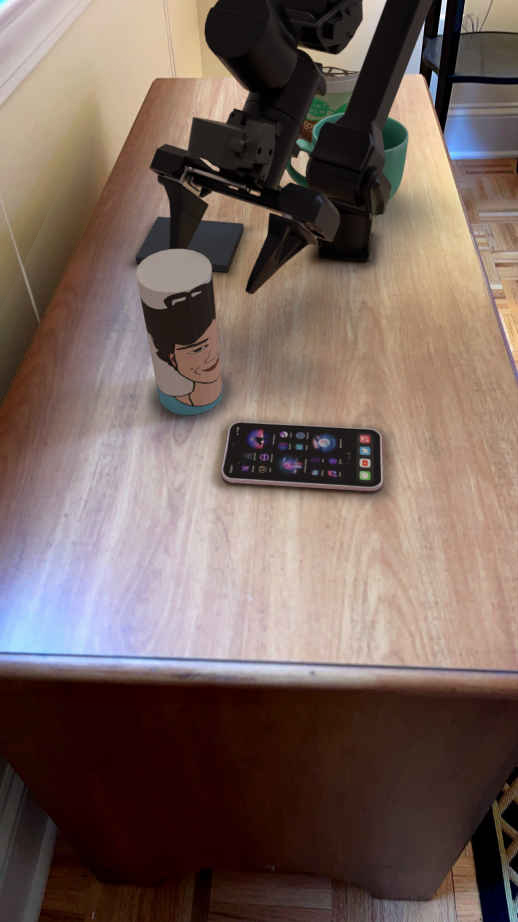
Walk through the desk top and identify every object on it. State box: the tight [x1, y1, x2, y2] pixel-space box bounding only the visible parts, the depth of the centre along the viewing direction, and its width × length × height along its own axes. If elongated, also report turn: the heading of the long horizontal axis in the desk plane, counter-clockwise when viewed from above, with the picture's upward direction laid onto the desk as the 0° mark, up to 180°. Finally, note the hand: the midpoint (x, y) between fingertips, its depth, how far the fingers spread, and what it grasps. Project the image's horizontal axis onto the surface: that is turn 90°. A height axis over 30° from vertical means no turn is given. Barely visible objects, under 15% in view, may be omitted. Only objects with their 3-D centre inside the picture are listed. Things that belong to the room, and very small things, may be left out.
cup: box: [135, 249, 223, 416], centre depth 67 cm, size 7×7×15 cm
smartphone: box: [221, 421, 384, 492], centre depth 66 cm, size 8×1×15 cm
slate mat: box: [135, 216, 245, 273], centre depth 90 cm, size 12×10×1 cm
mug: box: [285, 113, 409, 201], centre depth 94 cm, size 17×13×10 cm
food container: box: [299, 65, 360, 142], centre depth 107 cm, size 12×6×10 cm, turn 73°
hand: (209, 277), depth 66 cm, fingers open, 9 cm apart
